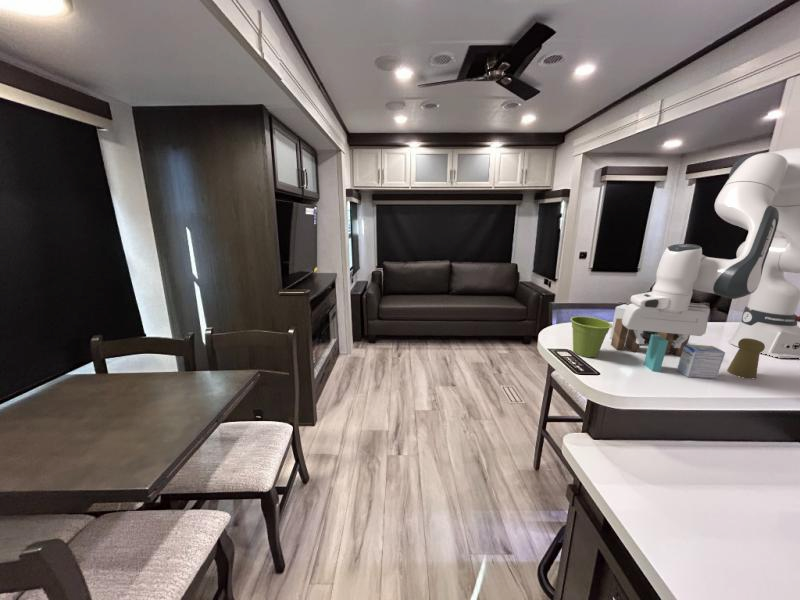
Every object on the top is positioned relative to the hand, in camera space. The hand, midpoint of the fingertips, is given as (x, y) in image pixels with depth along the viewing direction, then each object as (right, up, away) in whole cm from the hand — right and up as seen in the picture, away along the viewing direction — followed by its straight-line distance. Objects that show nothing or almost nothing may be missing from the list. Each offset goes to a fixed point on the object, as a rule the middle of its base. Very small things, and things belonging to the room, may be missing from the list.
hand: (657, 345), depth 95 cm
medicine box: (+10, -9, -1) cm, 14 cm away
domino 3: (0, -7, +2) cm, 8 cm away
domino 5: (+17, -5, +13) cm, 22 cm away
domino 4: (+12, -4, +14) cm, 19 cm away
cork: (+25, -9, 0) cm, 26 cm away
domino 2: (+4, -4, +16) cm, 16 cm away
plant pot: (-15, -4, +11) cm, 20 cm away
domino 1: (-1, -3, +17) cm, 17 cm away
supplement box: (+7, -1, +24) cm, 25 cm away
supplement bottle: (+16, -2, +23) cm, 28 cm away
